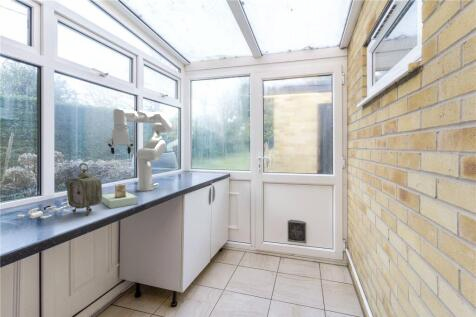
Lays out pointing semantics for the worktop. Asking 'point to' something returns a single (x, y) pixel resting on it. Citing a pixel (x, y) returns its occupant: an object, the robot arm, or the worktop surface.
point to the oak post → (120, 191)
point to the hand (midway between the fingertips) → (121, 153)
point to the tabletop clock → (84, 191)
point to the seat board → (118, 200)
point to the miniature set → (36, 214)
